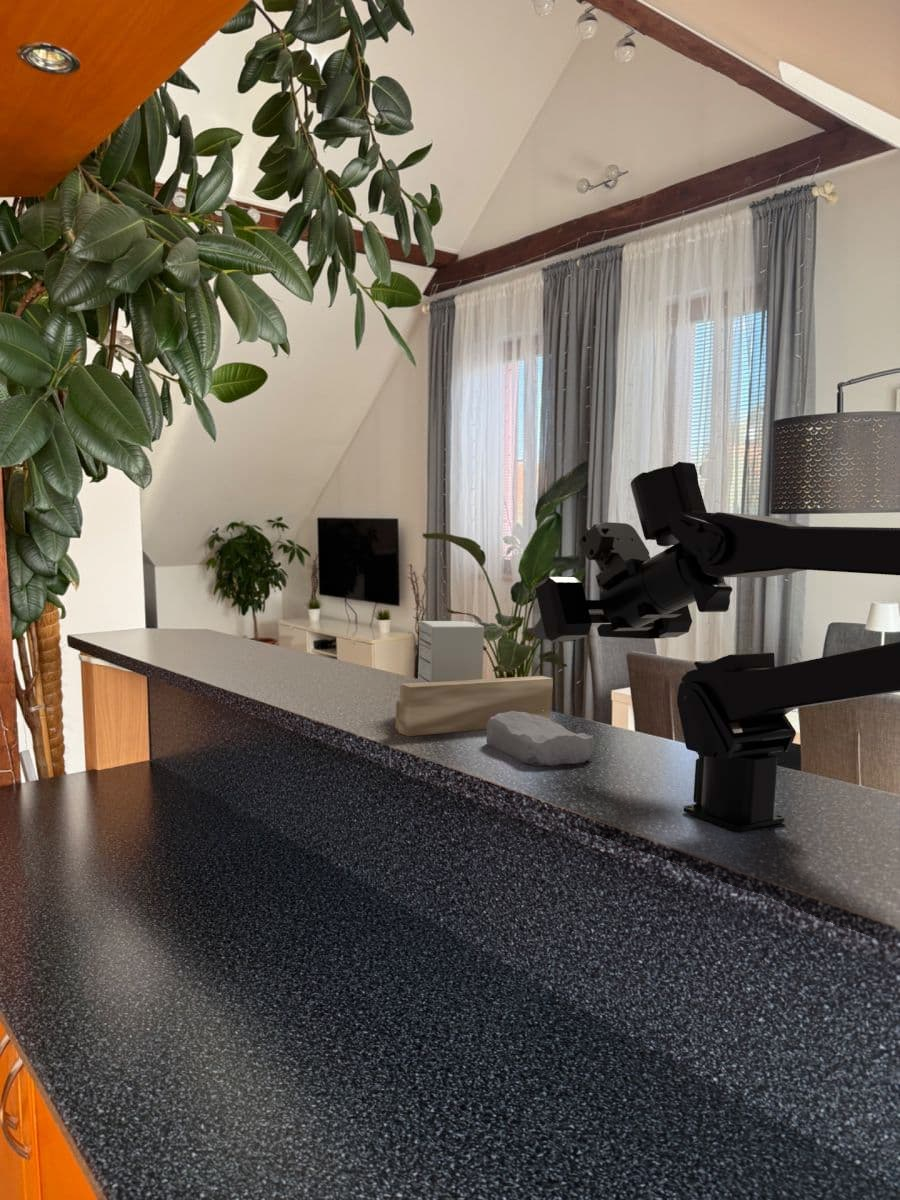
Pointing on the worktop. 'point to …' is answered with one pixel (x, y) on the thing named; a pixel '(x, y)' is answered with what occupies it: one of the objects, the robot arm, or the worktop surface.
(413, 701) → the block
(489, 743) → the stone block
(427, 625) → the supplement box
